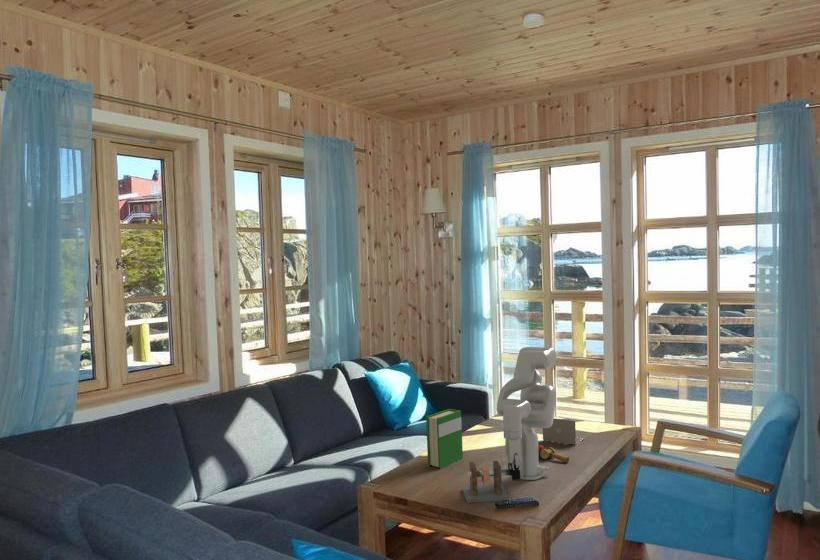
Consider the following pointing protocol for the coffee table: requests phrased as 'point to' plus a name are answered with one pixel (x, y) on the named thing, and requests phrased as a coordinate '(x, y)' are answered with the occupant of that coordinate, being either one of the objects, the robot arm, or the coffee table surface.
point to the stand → (496, 478)
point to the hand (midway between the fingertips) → (514, 475)
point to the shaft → (493, 472)
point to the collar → (485, 475)
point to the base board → (484, 494)
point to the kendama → (550, 454)
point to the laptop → (561, 432)
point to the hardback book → (444, 438)
